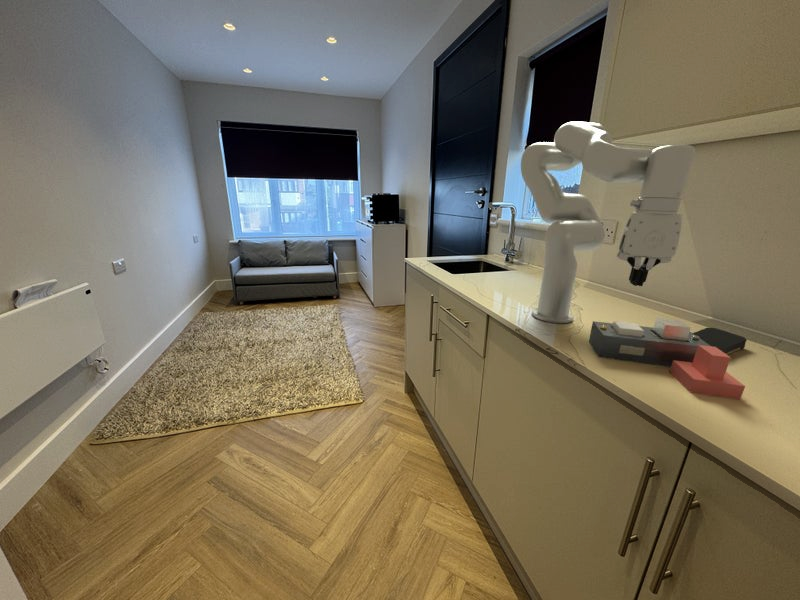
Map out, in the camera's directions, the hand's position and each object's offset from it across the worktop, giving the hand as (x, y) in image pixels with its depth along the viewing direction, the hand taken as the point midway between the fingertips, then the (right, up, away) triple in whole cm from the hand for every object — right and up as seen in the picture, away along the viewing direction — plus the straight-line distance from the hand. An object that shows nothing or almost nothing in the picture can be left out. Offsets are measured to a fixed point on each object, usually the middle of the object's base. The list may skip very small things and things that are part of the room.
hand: (635, 284), depth 77 cm
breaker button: (0, -14, +4) cm, 15 cm away
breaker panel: (+4, -18, +4) cm, 19 cm away
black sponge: (+27, -17, +8) cm, 33 cm away
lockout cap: (+7, -22, -9) cm, 25 cm away
